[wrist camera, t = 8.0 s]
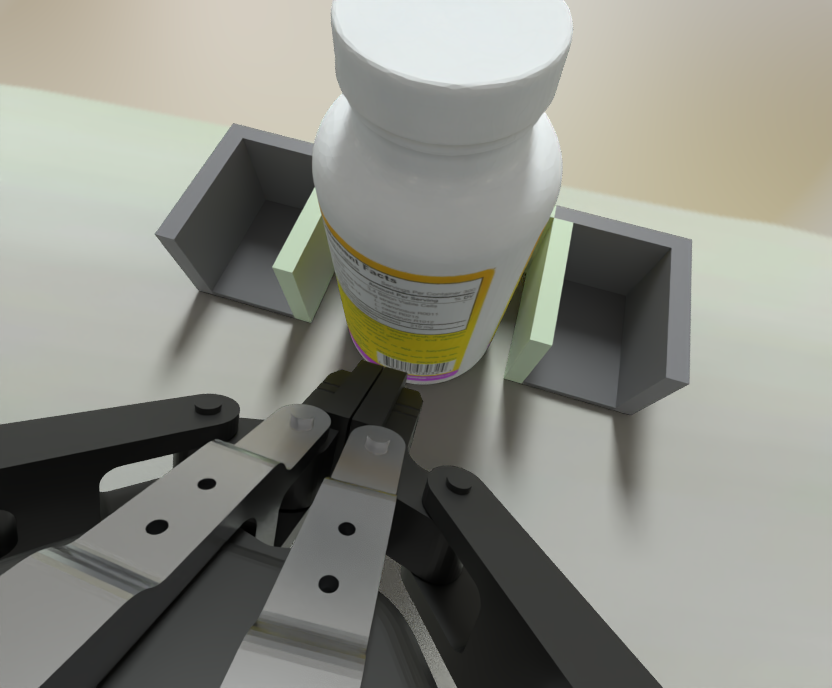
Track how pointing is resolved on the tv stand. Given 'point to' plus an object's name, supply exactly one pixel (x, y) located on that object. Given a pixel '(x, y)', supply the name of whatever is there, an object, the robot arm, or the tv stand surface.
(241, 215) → the bay rack
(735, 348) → the tv stand surface
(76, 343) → the tv stand surface
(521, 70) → the supplement bottle
